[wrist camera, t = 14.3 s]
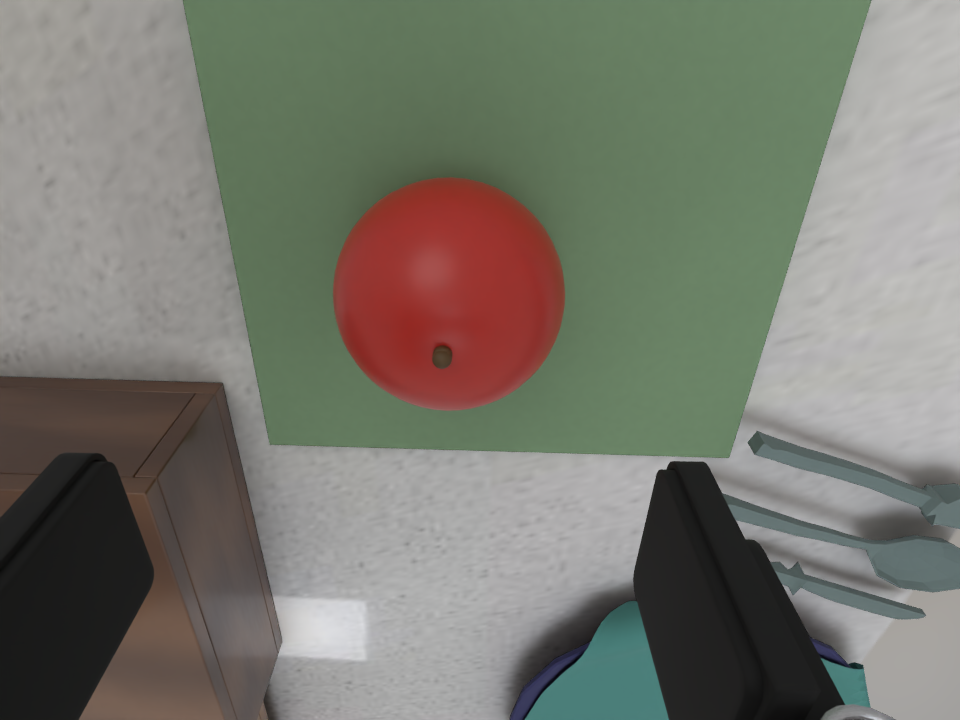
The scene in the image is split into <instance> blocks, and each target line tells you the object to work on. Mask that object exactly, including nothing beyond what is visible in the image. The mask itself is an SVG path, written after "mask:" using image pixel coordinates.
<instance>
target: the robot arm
mask: <svg viewBox="0 0 960 720" xmlns="http://www.w3.org/2000/svg"><path fill="white" fill-rule="evenodd" d="M153 580H154V568H153V564H152V562H151V559H150V556H149V553H148V551H147V548H146V545H145V543H144V540H143V537H142V535H141V532H140V529H139V527H138V524H137V521H136V519H135V516H134V513H133V511H132V508H131V505H130V503H129V500H128V497H127V494H126V492H125V489H124V486H123V484H122V481H121V478H120V476H119V473H118V470H117V468H116V466H115V464H113V463H112V462H108V461H107V459H106V458H105V456H103V455H102V454H100V453H62V454H59V455H58V456H57V457H56V458H54V460H53V461H52V462H51V463H50V464H49V465H48V466H47V467H46V468H45V469H44V470H43V472H42V473H41V474H40V475H39V476H38V477H37V478H36V479H35V480H34V481H33V482H32V484H31V485H30V486H29V487H28V488H27V489H26V490H25V491H24V492H23V493H22V494H21V496H20V497H19V498H18V499H17V500H16V501H15V502H14V503H13V504H12V505H11V506H10V508H9V509H8V510H7V511H6V512H5V513H4V514H3V515H2V516H1V517H0V720H79V718H80V716H81V715H82V713H83V711H84V709H85V707H86V706H87V704H88V702H89V700H90V698H91V696H92V695H93V693H94V691H95V689H96V687H97V686H98V684H99V682H100V680H101V678H102V676H103V675H104V673H105V671H106V669H107V667H108V666H109V664H110V662H111V660H112V658H113V656H114V655H115V653H116V651H117V649H118V647H119V646H120V644H121V642H122V640H123V638H124V636H125V635H126V633H127V631H128V629H129V627H130V626H131V624H132V622H133V620H134V618H135V616H136V615H137V613H138V611H139V609H140V607H141V605H142V604H143V602H144V600H145V598H146V596H147V595H148V593H149V591H150V589H151V587H152V584H153ZM633 583H634V592H635V596H636V600H637V603H638V607H639V611H640V615H641V618H642V622H643V626H644V629H645V633H646V637H647V640H648V644H649V648H650V652H651V655H652V659H653V663H654V666H655V670H656V674H657V677H658V681H659V685H660V689H661V692H662V696H663V700H664V703H665V707H666V711H667V714H668V718H669V720H895V719H893V718H892V717H890V716H888V715H886V714H884V713H881V712H879V711H877V710H875V709H873V708H869V707H864V706H860V705H855V704H850V705H845V703H844V701H843V700H842V698H841V696H840V694H839V692H838V690H837V688H836V686H835V684H834V682H833V681H832V679H831V677H830V675H829V673H828V671H827V669H826V667H825V665H824V663H823V662H822V660H821V658H820V656H819V654H818V652H817V650H816V648H815V646H814V644H813V643H812V641H811V639H810V637H809V635H808V633H807V631H806V629H805V627H804V625H803V624H802V622H801V620H800V618H799V616H798V614H797V612H796V610H795V608H794V606H793V604H792V603H791V601H790V599H789V597H788V595H787V593H786V591H785V589H784V587H783V585H782V584H781V582H780V580H779V578H778V576H777V574H776V572H775V570H774V568H773V566H772V565H771V563H770V561H769V559H768V557H767V555H766V553H765V552H764V550H763V549H762V547H761V546H760V544H758V543H757V542H756V541H755V540H746V539H745V538H744V536H743V534H742V532H741V530H740V528H739V526H738V524H737V522H736V520H735V518H734V516H733V514H732V512H731V510H730V508H729V506H728V504H727V502H726V500H725V498H724V496H723V494H722V492H721V490H720V488H719V486H718V484H717V482H716V480H715V478H714V476H713V474H712V472H711V470H710V468H709V467H708V465H707V464H706V463H704V462H680V461H673V462H670V463H669V465H668V467H667V470H659V471H658V472H657V475H656V480H655V484H654V488H653V492H652V497H651V501H650V505H649V510H648V514H647V518H646V523H645V527H644V531H643V535H642V540H641V544H640V548H639V553H638V557H637V561H636V565H635V570H634V577H633Z"/></svg>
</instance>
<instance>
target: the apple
mask: <svg viewBox="0 0 960 720" xmlns="http://www.w3.org/2000/svg"><path fill="white" fill-rule="evenodd" d="M333 305H334V311H335V317H336V321H337V325H338V328H339V331H340V334H341V337H342V340H343V342H344V344H345V346H346V348H347V350H348V352H349V353H350V355H351V356H352V358H353V359H354V361H355V362H356V364H357V365H358V366H359V368H360V369H361V370H362V371H363V372H364V373H365V375H366V376H367V377H368V378H370V379H371V380H372V381H373V382H374V383H375V384H376V385H378V386H379V387H380V388H382V389H383V390H385V391H386V392H388V393H389V394H391V395H393V396H395V397H397V398H398V399H400V400H403V401H405V402H407V403H410V404H413V405H416V406H419V407H423V408H428V409H433V410H445V411H452V410H465V409H471V408H475V407H479V406H483V405H486V404H489V403H492V402H494V401H497V400H499V399H501V398H503V397H505V396H507V395H509V394H510V393H512V392H513V391H515V390H516V389H518V388H519V387H520V386H521V385H522V384H524V383H525V382H526V381H527V380H528V379H529V378H530V377H532V375H533V374H534V373H535V372H536V371H537V370H538V369H539V368H540V366H541V365H542V364H543V362H544V361H545V359H546V358H547V356H548V354H549V353H550V351H551V349H552V347H553V345H554V343H555V341H556V339H557V336H558V333H559V330H560V327H561V323H562V318H563V312H564V307H565V286H564V277H563V270H562V266H561V262H560V258H559V256H558V254H557V251H556V249H555V246H554V244H553V242H552V240H551V238H550V237H549V235H548V233H547V231H546V230H545V228H544V227H543V225H542V224H541V223H540V222H539V220H538V219H537V218H536V217H535V215H533V214H532V213H531V212H530V211H529V210H528V209H527V208H526V207H525V206H524V205H523V204H521V203H520V202H519V201H517V200H516V199H515V198H513V197H512V196H510V195H509V194H507V193H505V192H503V191H502V190H500V189H498V188H496V187H493V186H491V185H488V184H485V183H483V182H479V181H474V180H470V179H464V178H454V177H448V178H433V179H428V180H422V181H419V182H416V183H412V184H409V185H406V186H404V187H402V188H400V189H398V190H396V191H393V192H391V193H390V194H388V195H387V196H385V197H384V198H382V199H381V200H379V201H378V202H377V203H376V204H374V205H373V206H372V207H371V208H370V209H369V210H368V211H367V212H366V213H365V214H364V215H363V216H362V217H361V219H360V220H359V221H358V222H357V223H356V225H355V226H354V227H353V229H352V231H351V232H350V234H349V235H348V237H347V239H346V241H345V243H344V246H343V248H342V250H341V253H340V255H339V258H338V262H337V265H336V269H335V275H334V284H333Z"/></svg>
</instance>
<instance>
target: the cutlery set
mask: <svg viewBox="0 0 960 720" xmlns="http://www.w3.org/2000/svg"><path fill="white" fill-rule="evenodd" d="M748 444H749V446H750V447H751V449H752V451H753V453H754V455H757V456H761V457H764V458H768V459H771V460H775V461H778V462H781V463H784V464H787V465H790V466H793V467H796V468H799V469H803V470H807V471H811V472H815V473H820V474H824V475H827V476H830V477H834V478H837V479H841V480H844V481H848V482H851V483H854V484H857V485H861V486H864V487H867V488H870V489H873V490H875V491H878V492H881V493H883V494H886V495H888V496H891V497H893V498H896V499H898V500H901V501H904V502H907V503H909V504H912V505H915V506H918V507H919V508H920V510H921V512H922V515H923V516H924V517H925V518H926V519H927V521H928V522H929V523H930V524H931V526H933V525H935V524H936V525H943V526H948V527H953V528H958V529H960V485H958V484H955V483H954V484H945V485H936V486H930V485H926V486H925V487H924V488H923V489H920V488H917V487H915V486H912V485H910V484H907V483H904V482H902V481H899V480H897V479H895V478H892V477H890V476H887V475H885V474H883V473H880V472H878V471H875V470H873V469H870V468H867V467H864V466H861V465H858V464H855V463H852V462H849V461H846V460H843V459H840V458H837V457H833V456H830V455H827V454H824V453H820V452H817V451H813V450H810V449H806V448H803V447H800V446H797V445H794V444H791V443H788V442H785V441H783V440H780V439H777V438H774V437H771V436H769V435H766V434H763V433H761V432H759V431H757V432H756V433H755V434H754V435H753V437H752V438H751V439H750V440H749V441H748ZM722 494H723V493H722ZM723 496H724V498H725V500H726V502H727V504H728V506H729V508H730V510H731V512H732V514H733V516H734V518H735V520H738V521H742V522H746V523H749V524H753V525H757V526H761V527H765V528H769V529H773V530H777V531H780V532H784V533H788V534H792V535H796V536H800V537H806V538H811V539H817V540H822V541H826V542H830V543H835V544H839V545H843V546H849V547H855V548H861V549H866V551H867V554H868V556H869V559H870V561H871V564H872V566H873V568H874V571H875V573H876V575H877V576H878V577H880V578H882V579H884V580H886V581H888V582H890V583H892V584H893V585H895V586H897V587H899V588H904V589H912V590H919V591H926V592H939V591H946V590H953V589H960V548H958V547H956V546H955V545H953V544H951V543H949V542H948V541H946V540H944V539H941V538H933V537H925V536H917V535H912V536H907V537H901V538H896V539H891V540H886V541H882V540H868V539H864V538H860V537H856V536H852V535H848V534H845V533H842V532H839V531H835V530H832V529H829V528H826V527H822V526H818V525H815V524H811V523H807V522H803V521H800V520H797V519H794V518H792V517H789V516H786V515H783V514H780V513H777V512H774V511H771V510H768V509H765V508H762V507H759V506H756V505H753V504H750V503H748V502H745V501H742V500H740V499H737V498H734V497H732V496H729V495H726V494H723ZM770 563H771V565H772V566H773V568H774V570H775V572H776V574H777V576H778V578H779V580H780V582H781V584H783V585H785V586H788V587H789V589H790V591H791V593H792V595H794V594H795V593H796V592H797V591H798V590H799V589H800V588H803V589H805V590H807V591H809V592H812V593H814V594H817V595H819V596H821V597H824V598H826V599H829V600H832V601H835V602H838V603H841V604H844V605H848V606H851V607H854V608H857V609H861V610H864V611H868V612H872V613H875V614H879V615H882V616H886V617H890V618H895V619H918V618H923V617H925V616H926V615H925V613H924V612H923V610H922V609H919V608H916V607H912V606H909V605H906V604H902V603H899V602H896V601H892V600H889V599H885V598H882V597H879V596H875V595H872V594H869V593H865V592H862V591H858V590H855V589H852V588H848V587H845V586H842V585H838V584H835V583H831V582H828V581H825V580H821V579H818V578H815V577H811V576H808V575H805V574H804V573H803V571H802V569H801V567H800V565H799V563H798V562H797V563H796V564H795V565H794V566H793V567H792V568H791V569H787V568H786V567H785V566H784V565H782V564H781V563H780V562H770ZM810 639H811V641H812V643H813V644H814V646H815V648H816V650H817V652H818V654H819V656H820V658H821V660H822V662H823V663H824V665H825V667H826V669H827V671H828V673H829V675H830V677H831V679H832V681H833V682H834V684H835V686H836V688H837V690H838V692H839V694H840V696H841V698H842V700H843V701H844V703H845V705H850V704H855V705H860V706H864V707H869V708H871V707H870V703H869V697H868V693H867V687H866V682H865V674H864V668H863V665H861V664H858V663H855V662H854V663H850V664H847V663H846V661H845V660H844V659H843V658H842V657H841V656H840V655H839V654H838V653H837V652H836V651H835V650H834V649H833V648H832V647H831V646H829V645H827V644H824V643H822V642H820V641H818V640H815V639H813V638H811V637H810ZM510 720H669V718H668V714H667V711H666V707H665V703H664V700H663V696H662V692H661V689H660V685H659V681H658V677H657V674H656V670H655V666H654V663H653V659H652V655H651V652H650V648H649V644H648V640H647V637H646V633H645V629H644V626H643V622H642V618H641V615H640V611H639V607H638V603H637V601H628V602H626V603H624V604H622V605H621V606H619V607H618V608H616V609H615V610H613V611H612V612H610V613H609V614H608V615H607V617H606V618H605V619H604V620H603V621H602V622H601V624H600V626H599V627H598V629H597V631H596V633H595V635H594V636H593V638H592V640H591V642H589V643H587V644H585V645H582V646H580V647H578V648H576V649H574V650H572V651H570V652H568V653H566V654H564V655H562V656H559V657H557V658H555V659H554V660H553V661H552V662H551V663H550V664H548V665H547V666H546V667H545V668H544V669H543V670H542V671H541V672H539V673H538V674H537V675H536V676H535V677H534V678H533V679H531V680H530V681H529V682H528V683H527V684H526V685H525V686H524V687H523V689H522V691H521V693H520V695H519V698H518V700H517V702H516V704H515V706H514V709H513V711H512V713H511V715H510Z"/></svg>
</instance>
